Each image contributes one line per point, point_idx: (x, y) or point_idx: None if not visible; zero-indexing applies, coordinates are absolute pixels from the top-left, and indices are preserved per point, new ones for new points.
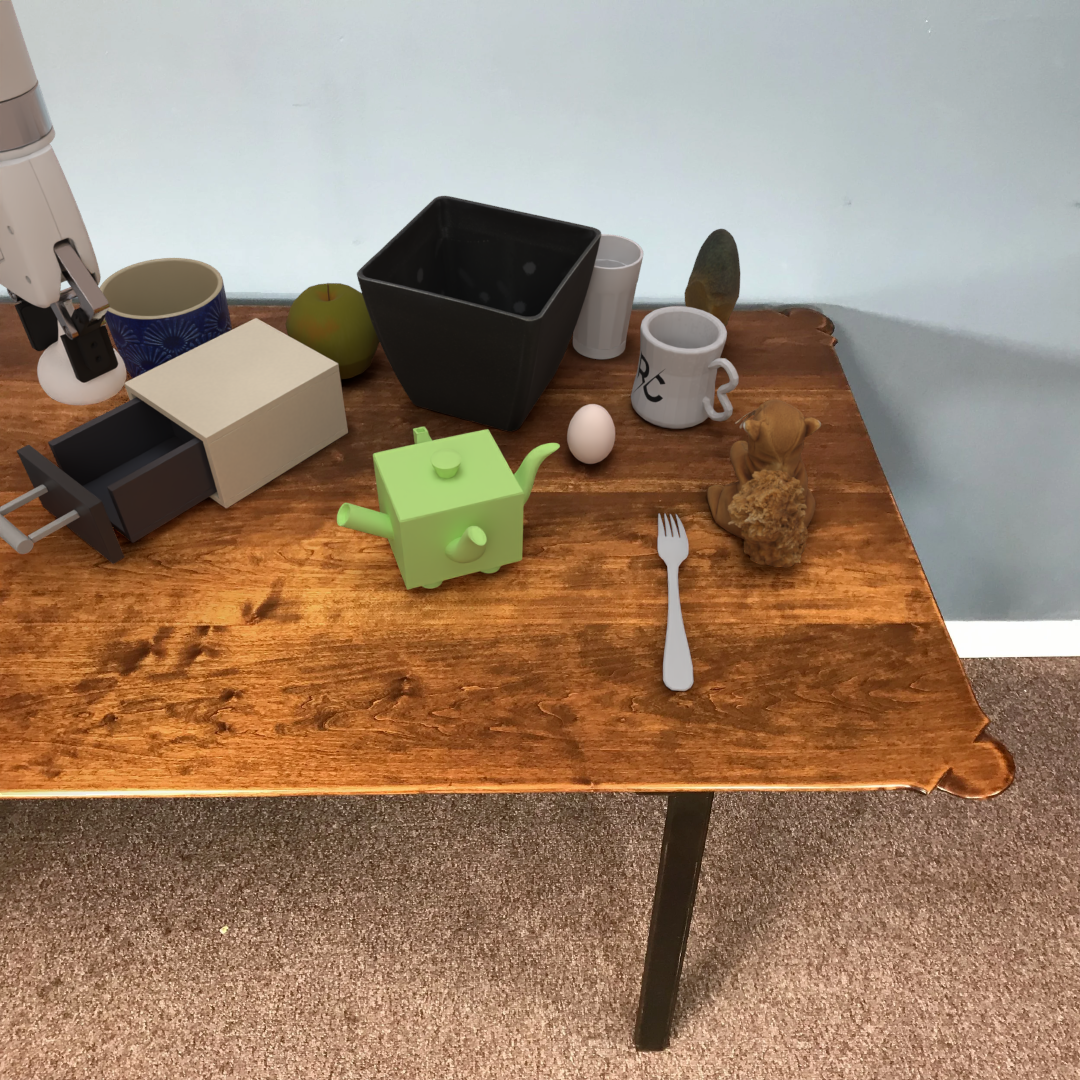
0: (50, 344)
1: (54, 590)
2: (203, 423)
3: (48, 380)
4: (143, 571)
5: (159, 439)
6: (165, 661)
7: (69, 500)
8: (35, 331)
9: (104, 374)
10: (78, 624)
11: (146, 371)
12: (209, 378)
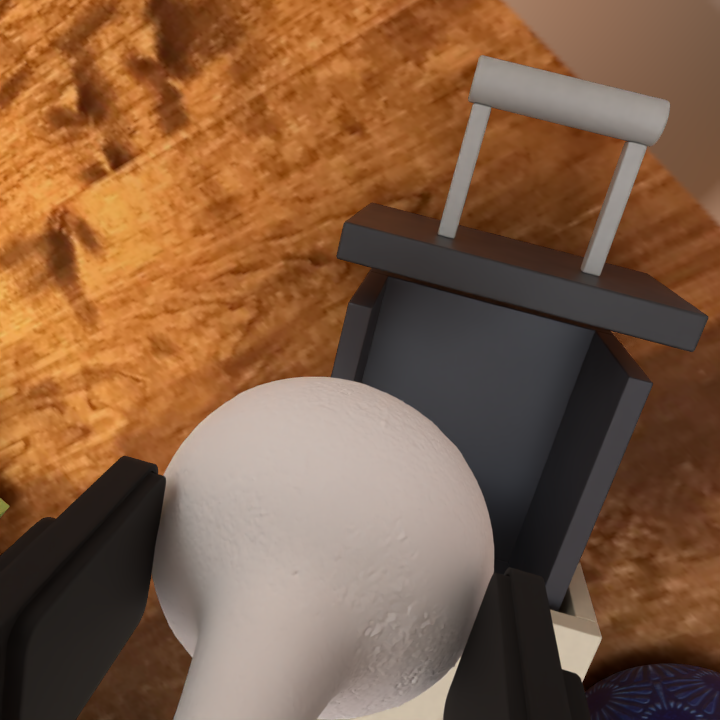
0: (478, 624)
1: (453, 94)
2: None
3: (304, 418)
4: (325, 227)
5: (521, 538)
6: (117, 55)
7: (460, 245)
8: (493, 659)
9: None
10: (335, 43)
11: (682, 707)
12: (407, 716)
